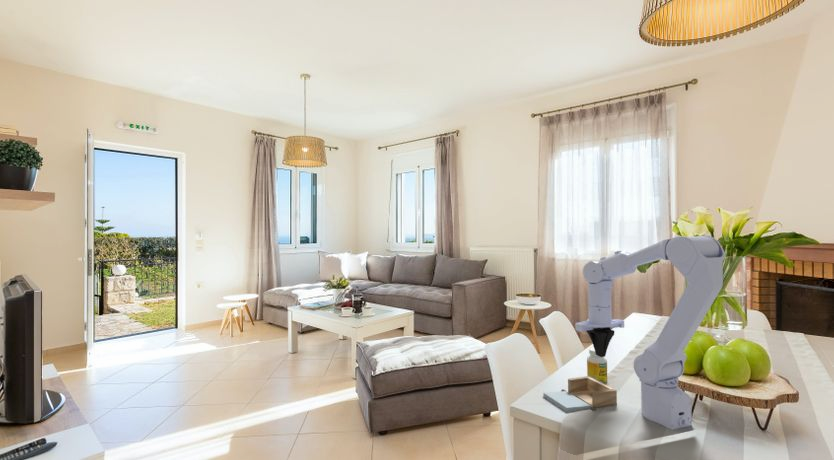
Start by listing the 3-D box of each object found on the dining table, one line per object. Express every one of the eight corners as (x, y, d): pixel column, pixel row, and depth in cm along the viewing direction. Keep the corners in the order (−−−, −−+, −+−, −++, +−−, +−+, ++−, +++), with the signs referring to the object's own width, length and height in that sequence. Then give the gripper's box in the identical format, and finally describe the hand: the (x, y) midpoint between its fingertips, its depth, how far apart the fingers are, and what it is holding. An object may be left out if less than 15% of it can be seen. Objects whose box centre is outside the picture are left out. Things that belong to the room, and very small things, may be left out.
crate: (619, 409, 95) (619, 391, 95) (592, 414, 93) (592, 395, 93) (585, 391, 106) (585, 374, 106) (561, 395, 104) (561, 378, 104)
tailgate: (590, 405, 94) (566, 407, 92) (590, 410, 94) (566, 412, 92) (566, 391, 103) (543, 392, 101) (565, 395, 103) (543, 397, 101)
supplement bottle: (594, 377, 116) (593, 345, 116) (611, 383, 111) (610, 350, 112) (583, 381, 113) (582, 349, 113) (600, 387, 108) (600, 353, 109)
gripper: (610, 301, 110) (610, 348, 110) (567, 304, 106) (568, 354, 106) (630, 305, 104) (631, 356, 103) (585, 309, 99) (586, 362, 99)
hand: (600, 355), depth 104 cm, fingers closed
